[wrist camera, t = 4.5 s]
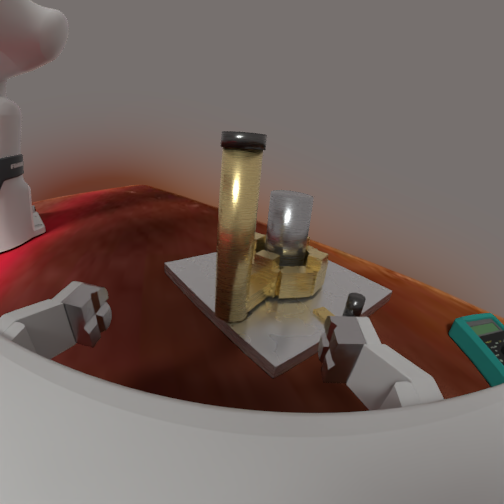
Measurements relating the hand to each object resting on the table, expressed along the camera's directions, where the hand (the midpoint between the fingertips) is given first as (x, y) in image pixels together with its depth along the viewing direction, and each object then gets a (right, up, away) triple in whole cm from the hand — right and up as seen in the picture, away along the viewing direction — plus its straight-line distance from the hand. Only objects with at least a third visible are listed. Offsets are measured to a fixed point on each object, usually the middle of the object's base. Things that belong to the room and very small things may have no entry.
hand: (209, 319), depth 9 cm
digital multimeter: (+25, -10, +7) cm, 28 cm away
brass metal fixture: (+3, -1, +17) cm, 17 cm away
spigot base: (+4, -2, +20) cm, 20 cm away
